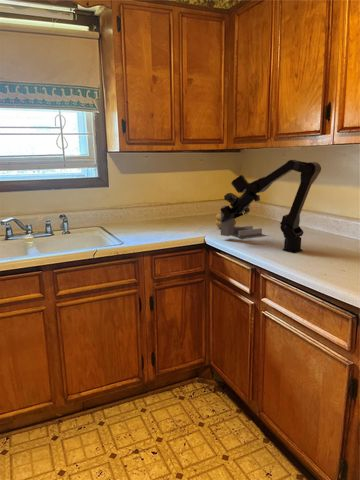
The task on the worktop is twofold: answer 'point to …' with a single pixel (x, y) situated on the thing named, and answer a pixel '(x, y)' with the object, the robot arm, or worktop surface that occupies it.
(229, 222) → the gray rectangular block
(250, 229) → the bracket
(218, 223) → the pot
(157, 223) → the worktop surface
